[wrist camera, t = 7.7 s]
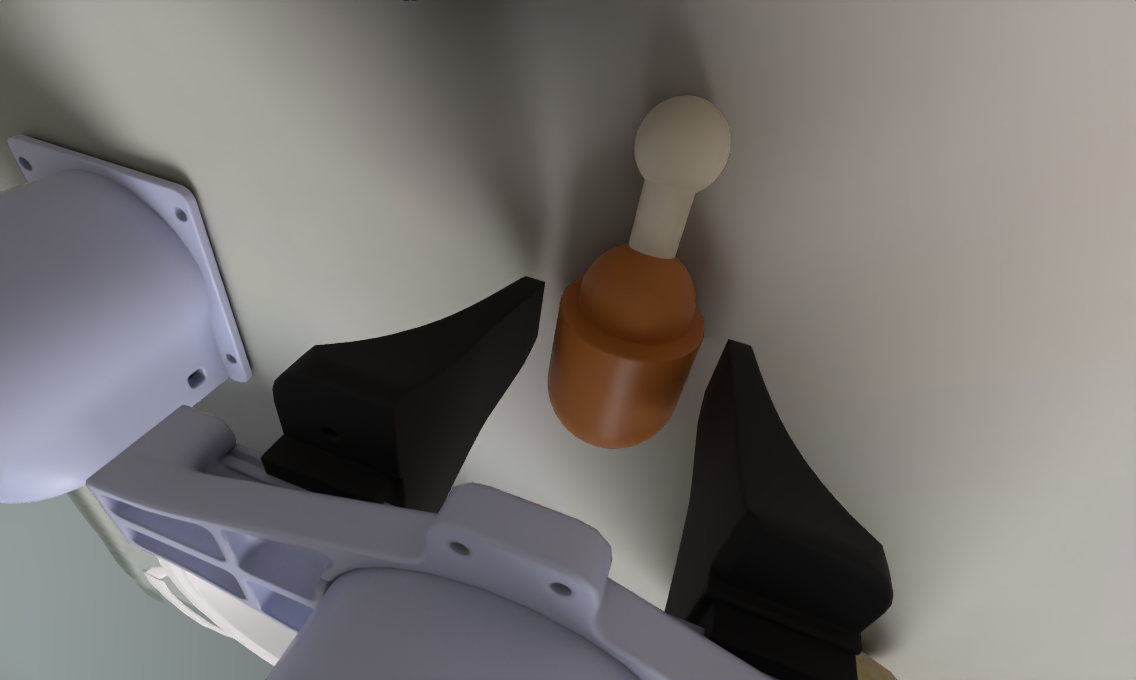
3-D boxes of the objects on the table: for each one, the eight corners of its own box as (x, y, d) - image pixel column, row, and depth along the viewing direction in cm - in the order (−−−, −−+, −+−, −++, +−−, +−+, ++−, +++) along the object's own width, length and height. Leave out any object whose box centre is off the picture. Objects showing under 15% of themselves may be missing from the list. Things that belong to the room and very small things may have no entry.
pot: (296, 618, 45) (253, 678, 41) (119, 423, 33) (36, 484, 29) (627, 708, 34) (608, 800, 30) (545, 467, 22) (498, 574, 18)
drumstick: (669, 403, 18) (647, 494, 15) (563, 368, 18) (521, 448, 16) (786, 106, 12) (786, 162, 9) (621, 67, 12) (570, 108, 9)
